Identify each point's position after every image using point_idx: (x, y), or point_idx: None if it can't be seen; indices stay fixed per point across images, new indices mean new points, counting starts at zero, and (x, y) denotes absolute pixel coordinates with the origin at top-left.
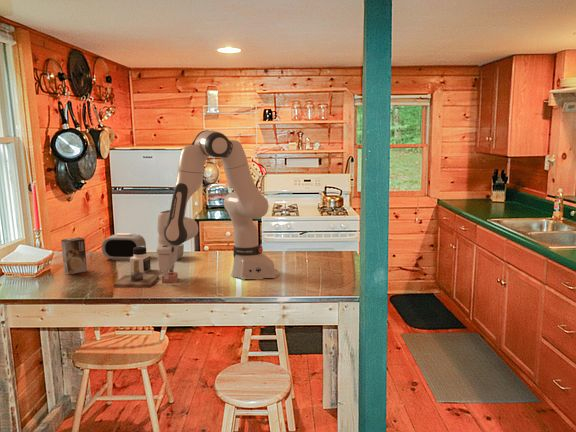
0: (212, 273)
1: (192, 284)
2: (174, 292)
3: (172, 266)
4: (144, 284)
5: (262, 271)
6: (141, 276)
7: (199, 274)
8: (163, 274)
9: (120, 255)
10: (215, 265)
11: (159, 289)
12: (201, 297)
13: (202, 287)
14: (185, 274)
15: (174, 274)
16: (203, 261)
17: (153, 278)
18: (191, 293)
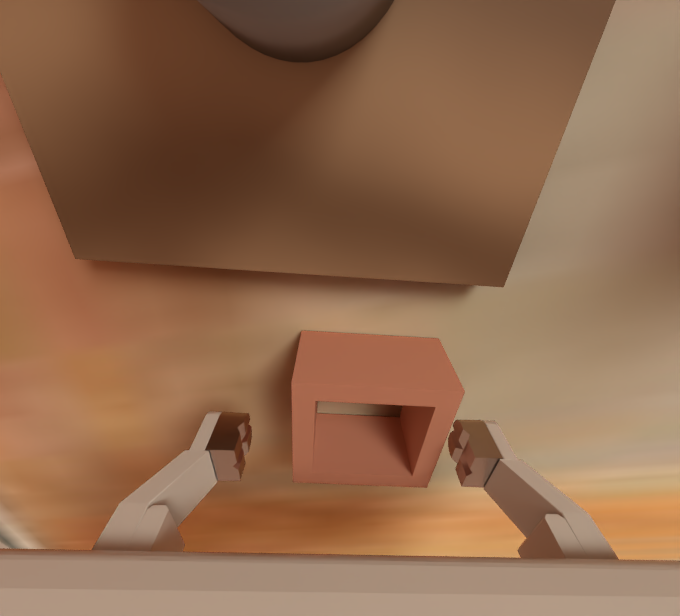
0: (490, 555)
1: (255, 506)
2: (40, 448)
3: (520, 517)
4: (42, 170)
5: None
6: (227, 21)
7: (492, 517)
8: (356, 393)
9: None
10: (677, 557)
11: (61, 347)
12: (26, 547)
13: (202, 541)
14: (529, 458)
15: (347, 477)
16: None
17: (357, 245)
18: (69, 515)
